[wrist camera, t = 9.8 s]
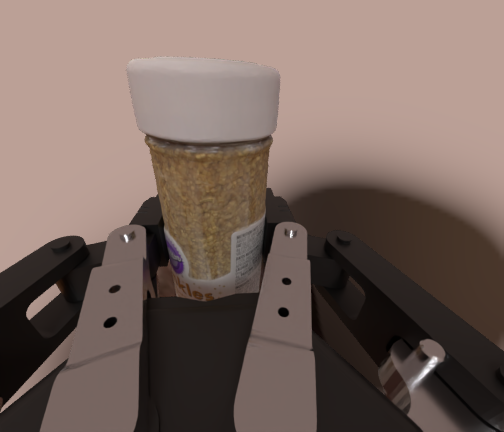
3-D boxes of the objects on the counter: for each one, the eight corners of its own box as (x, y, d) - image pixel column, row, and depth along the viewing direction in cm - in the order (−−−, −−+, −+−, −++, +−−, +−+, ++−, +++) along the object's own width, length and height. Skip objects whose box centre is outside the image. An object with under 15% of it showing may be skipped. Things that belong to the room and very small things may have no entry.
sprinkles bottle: (167, 331, 13) (88, 54, 6) (219, 283, 17) (206, 65, 9) (225, 384, 11) (207, 50, 4) (272, 317, 14) (307, 66, 7)
